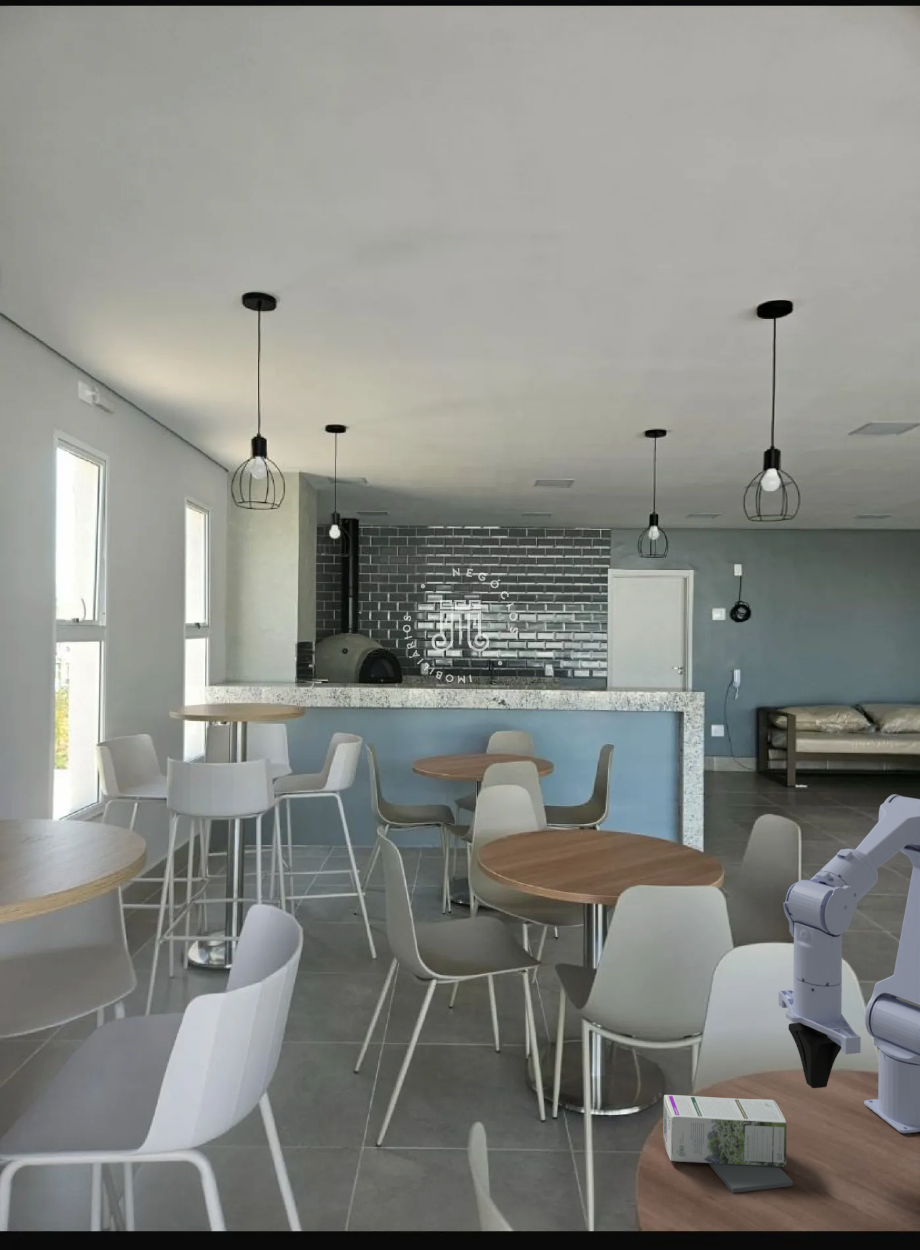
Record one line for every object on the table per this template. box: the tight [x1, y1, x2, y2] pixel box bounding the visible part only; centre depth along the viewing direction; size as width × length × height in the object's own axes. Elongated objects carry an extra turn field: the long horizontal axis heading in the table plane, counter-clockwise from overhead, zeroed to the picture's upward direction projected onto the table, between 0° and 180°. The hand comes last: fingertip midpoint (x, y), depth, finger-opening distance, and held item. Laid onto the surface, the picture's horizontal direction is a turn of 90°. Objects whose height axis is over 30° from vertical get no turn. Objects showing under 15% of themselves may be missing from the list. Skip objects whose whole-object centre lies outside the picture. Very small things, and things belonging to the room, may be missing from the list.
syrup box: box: [662, 1094, 788, 1168], centre depth 111 cm, size 6×6×14 cm
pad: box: [707, 1163, 794, 1194], centre depth 109 cm, size 8×9×1 cm
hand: (816, 1085), depth 111 cm, fingers closed
